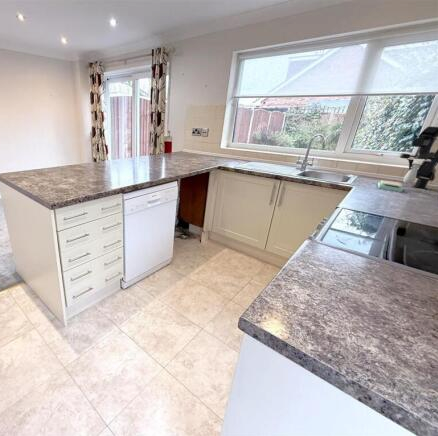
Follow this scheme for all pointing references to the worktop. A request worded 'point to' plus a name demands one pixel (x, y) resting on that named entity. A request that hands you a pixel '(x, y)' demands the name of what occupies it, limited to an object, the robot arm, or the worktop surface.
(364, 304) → the worktop surface
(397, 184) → the scale platform
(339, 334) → the worktop surface
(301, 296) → the worktop surface
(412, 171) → the salt shaker
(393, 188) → the scale
